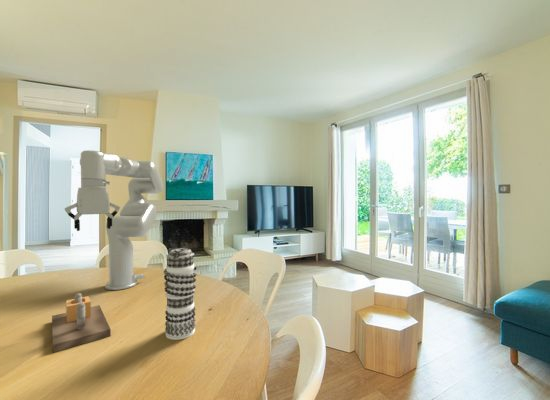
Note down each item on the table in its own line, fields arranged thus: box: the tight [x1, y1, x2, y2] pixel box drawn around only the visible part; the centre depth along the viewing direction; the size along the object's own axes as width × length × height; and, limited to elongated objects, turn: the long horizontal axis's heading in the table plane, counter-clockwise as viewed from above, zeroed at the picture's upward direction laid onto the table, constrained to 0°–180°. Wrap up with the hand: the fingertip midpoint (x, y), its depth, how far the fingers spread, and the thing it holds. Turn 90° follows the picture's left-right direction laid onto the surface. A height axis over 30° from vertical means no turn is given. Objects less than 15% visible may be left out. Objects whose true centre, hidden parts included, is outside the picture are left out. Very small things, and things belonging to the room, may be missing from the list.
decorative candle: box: [163, 247, 197, 341], centre depth 80 cm, size 9×9×25 cm
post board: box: [51, 292, 112, 353], centre depth 83 cm, size 13×22×10 cm, turn 40°
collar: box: [65, 295, 92, 323], centre depth 86 cm, size 6×6×5 cm
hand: (93, 229), depth 101 cm, fingers open, 9 cm apart
